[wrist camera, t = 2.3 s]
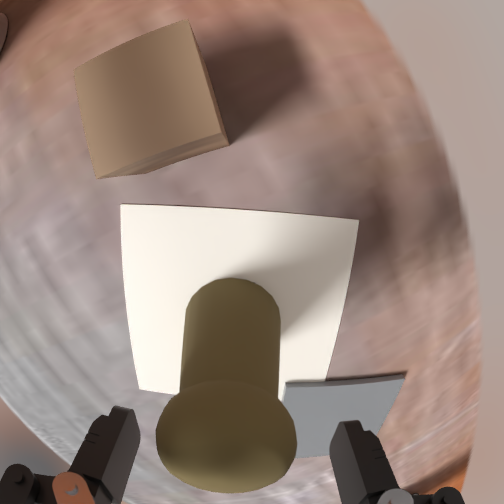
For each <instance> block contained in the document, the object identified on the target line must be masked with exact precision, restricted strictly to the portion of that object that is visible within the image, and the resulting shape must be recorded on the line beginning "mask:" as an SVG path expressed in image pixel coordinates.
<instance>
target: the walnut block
mask: <svg viewBox="0 0 504 504" xmlns="http://www.w3.org/2000/svg"><path fill="white" fill-rule="evenodd" d="M73 71H74V78H75V84H76V91H77V97H78V102H79V108H80V113H81V118H82V123H83V128H84V132H85V137H86V141H87V145H88V149H89V153H90V157H91V161H92V165H93V169H94V173H95V176H96V179H101V178H109V177H118V176H127V175H137V174H146V173H148V172H151V171H154V170H157V169H159V168H162V167H165V166H168V165H170V164H173V163H176V162H179V161H182V160H185V159H188V158H191V157H194V156H197V155H200V154H203V153H206V152H210V151H213V150H216V149H220V148H223V147H226V146H230V145H229V142H228V138H227V135H226V131H225V128H224V124H223V121H222V118H221V114H220V111H219V108H218V104H217V101H216V97H215V94H214V91H213V87H212V84H211V81H210V77H209V74H208V71H207V67H206V64H205V62H204V59H203V57H202V54H201V51H200V49H199V46H198V44H197V41H196V38H195V36H194V33H193V31H192V28H191V26H190V23H189V20H188V19H186V20H182V21H179V22H176V23H173V24H170V25H168V26H165V27H162V28H159V29H157V30H154V31H152V32H149V33H147V34H144V35H142V36H139V37H137V38H135V39H132V40H130V41H128V42H125V43H123V44H121V45H119V46H117V47H115V48H113V49H111V50H109V51H107V52H105V53H103V54H101V55H99V56H97V57H95V58H93V59H91V60H90V61H88V62H86V63H84V64H82V65H81V66H79V67H77V68H75V69H74V70H73Z"/></svg>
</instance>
